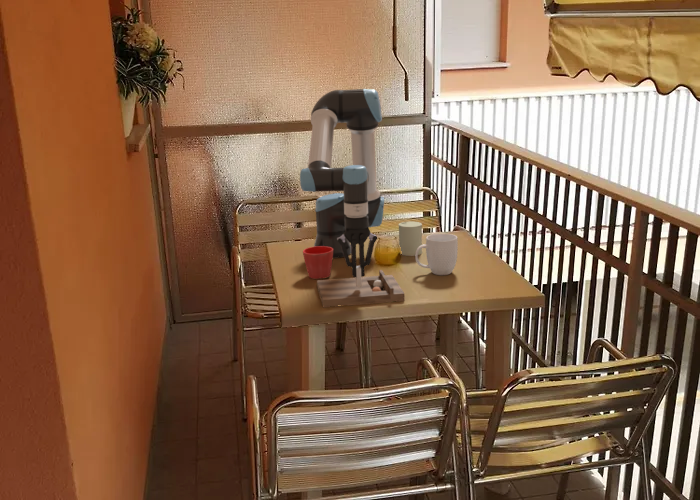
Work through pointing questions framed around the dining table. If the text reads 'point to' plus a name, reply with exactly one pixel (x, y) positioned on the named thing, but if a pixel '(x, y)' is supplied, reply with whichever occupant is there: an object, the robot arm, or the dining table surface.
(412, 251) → the can
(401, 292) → the board
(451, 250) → the mug
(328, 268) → the flower pot
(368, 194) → the robot arm
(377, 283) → the ball white
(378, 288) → the ball terracotta
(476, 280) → the dining table surface
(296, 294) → the dining table surface
